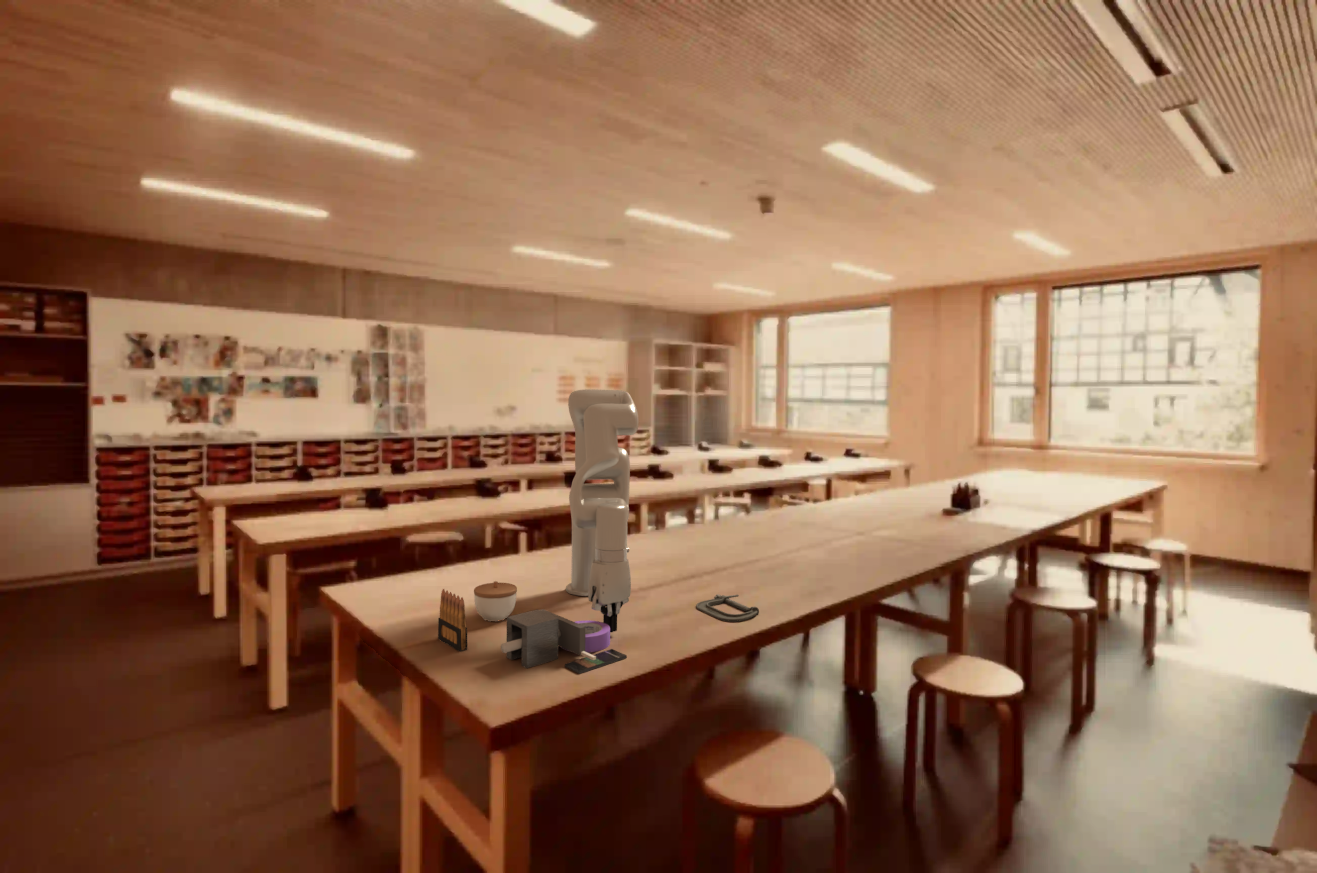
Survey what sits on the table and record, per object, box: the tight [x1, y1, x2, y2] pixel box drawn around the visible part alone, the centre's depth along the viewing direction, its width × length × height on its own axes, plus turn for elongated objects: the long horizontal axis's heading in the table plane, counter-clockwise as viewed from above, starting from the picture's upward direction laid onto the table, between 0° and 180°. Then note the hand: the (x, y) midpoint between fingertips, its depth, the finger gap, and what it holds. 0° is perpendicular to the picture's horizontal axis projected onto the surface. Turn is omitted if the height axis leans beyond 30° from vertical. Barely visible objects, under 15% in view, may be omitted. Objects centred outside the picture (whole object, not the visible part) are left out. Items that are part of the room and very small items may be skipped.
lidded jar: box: [473, 580, 518, 622], centre depth 174 cm, size 11×11×9 cm
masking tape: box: [559, 620, 611, 654], centre depth 157 cm, size 12×12×4 cm
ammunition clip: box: [437, 588, 468, 653], centre depth 155 cm, size 11×2×12 cm, turn 44°
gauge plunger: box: [500, 608, 596, 660], centre depth 146 cm, size 16×20×6 cm
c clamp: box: [695, 593, 760, 623], centre depth 185 cm, size 20×17×3 cm
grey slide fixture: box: [505, 609, 628, 675], centre depth 148 cm, size 20×18×9 cm
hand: (610, 630), depth 163 cm, fingers closed
